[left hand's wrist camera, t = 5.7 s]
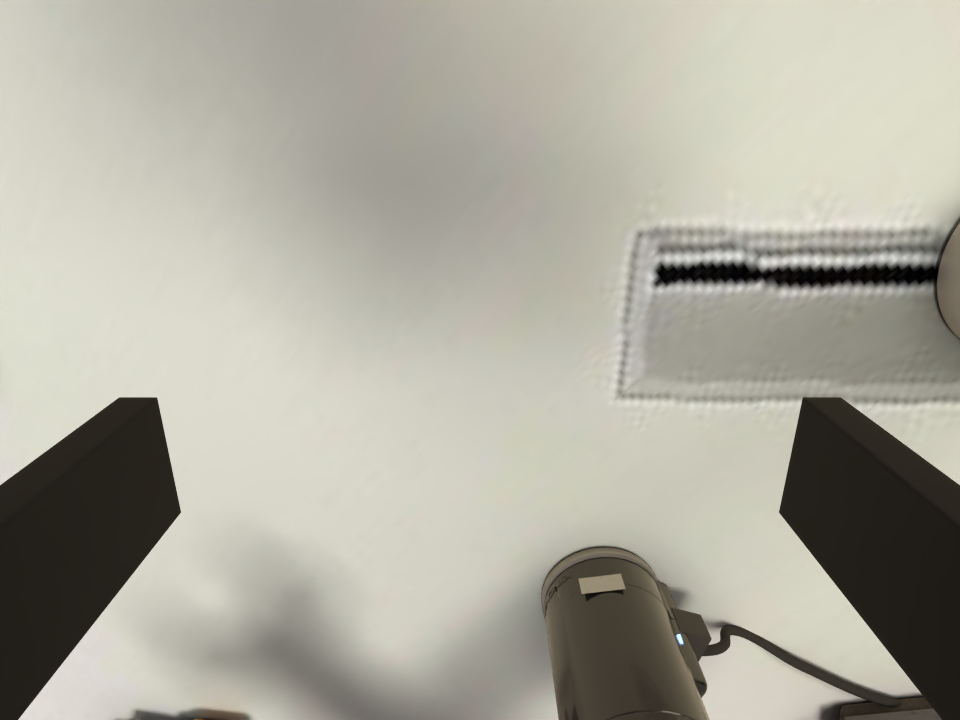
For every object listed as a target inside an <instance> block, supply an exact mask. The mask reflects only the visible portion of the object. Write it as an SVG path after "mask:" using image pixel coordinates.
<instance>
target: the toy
mask: <svg viewBox="0 0 960 720" xmlns="http://www.w3.org/2000/svg"><path fill="white" fill-rule="evenodd" d="M898 700H899V701H901V702H902V705H900V706H898V707H889V706H884V705H881V704H878V703H875V702H869V703H859V704H849V705H843V706H842V708H841V710H840V718H839V720H942V719H941V718H940V716H939V715H938V714H937V713H936V711H935V710H934V709H933V708H932V706H931V705H930V704H929V702H928V701H927V700H926V699H925V697H917V698H908V699H898Z"/></svg>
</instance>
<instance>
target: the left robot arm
mask: <svg viewBox="0 0 960 720" xmlns="http://www.w3.org/2000/svg"><path fill="white" fill-rule="evenodd" d="M180 513H181V510H180V506H179V501H178V496H177V491H176V486H175V482H174V477H173V472H172V467H171V462H170V458H169V453H168V448H167V443H166V438H165V434H164V429H163V424H162V419H161V414H160V409H159V405H158V400H157V398H118V399H117V400H115V401H114V402H113V403H111V404H110V405H109V406H107V407H106V408H105V409H103V410H102V411H100V412H99V413H98V414H96V415H95V416H94V417H92V418H91V419H90V420H88V421H87V422H86V423H84V424H83V425H81V426H80V427H79V428H77V429H76V430H75V431H73V432H72V433H71V434H69V435H68V436H67V437H65V438H64V439H62V440H61V441H60V442H58V443H57V444H56V445H54V446H53V447H52V448H50V449H49V450H48V451H46V452H45V453H44V454H42V455H41V456H39V457H38V458H37V459H35V460H34V461H33V462H31V463H30V464H29V465H27V466H26V467H25V468H23V469H22V470H20V471H19V472H18V473H16V474H15V475H14V476H12V477H11V478H10V479H8V480H7V481H6V482H4V483H3V484H1V485H0V720H18V719H19V718H20V716H21V715H22V714H23V713H24V711H25V710H26V709H27V708H28V706H29V705H30V704H31V702H32V701H33V700H34V699H35V697H36V696H37V695H38V694H39V692H40V691H41V690H42V688H43V687H44V686H45V685H46V683H47V682H48V681H49V680H50V678H51V677H52V676H53V674H54V673H55V672H56V671H57V669H58V668H59V667H60V666H61V664H62V663H63V662H64V660H65V659H66V658H67V657H68V655H69V654H70V653H71V652H72V650H73V649H74V648H75V646H76V645H77V644H78V643H79V641H80V640H81V639H82V638H83V636H84V635H85V634H86V632H87V631H88V630H89V629H90V627H91V626H92V625H93V624H94V622H95V621H96V620H97V618H98V617H99V616H100V615H101V613H102V612H103V611H104V610H105V608H106V607H107V606H108V604H109V603H110V602H111V601H112V599H113V598H114V597H115V596H116V594H117V593H118V592H119V590H120V589H121V588H122V587H123V585H124V584H125V583H126V582H127V580H128V579H129V578H130V576H131V575H132V574H133V573H134V571H135V570H136V569H137V568H138V566H139V565H140V564H141V562H142V561H143V560H144V559H145V557H146V556H147V555H148V554H149V552H150V551H151V550H152V548H153V547H154V546H155V545H156V543H157V542H158V541H159V540H160V538H161V537H162V536H163V534H164V533H165V532H166V531H167V529H168V528H169V527H170V526H171V524H172V523H173V522H174V520H175V519H176V518H177V517H178V515H179V514H180ZM779 513H780V514H781V515H782V517H783V518H784V519H785V520H786V522H787V523H788V524H789V526H790V527H791V528H792V529H793V531H794V532H795V533H796V534H797V536H798V537H799V538H800V540H801V541H802V542H803V543H804V545H805V546H806V547H807V548H808V550H809V551H810V552H811V554H812V555H813V556H814V557H815V559H816V560H817V561H818V562H819V564H820V565H821V566H822V568H823V569H824V570H825V571H826V573H827V574H828V575H829V576H830V578H831V579H832V580H833V582H834V583H835V584H836V585H837V587H838V588H839V589H840V590H841V592H842V593H843V594H844V596H845V597H846V598H847V599H848V601H849V602H850V603H851V604H852V606H853V607H854V608H855V610H856V611H857V612H858V613H859V615H860V616H861V617H862V618H863V620H864V621H865V622H866V624H867V625H868V626H869V627H870V629H871V630H872V631H873V632H874V634H875V635H876V636H877V638H878V639H879V640H880V641H881V643H882V644H883V645H884V646H885V648H886V649H887V650H888V652H889V653H890V654H891V655H892V657H893V658H894V659H895V660H896V662H897V663H898V664H899V666H900V667H901V668H902V669H903V671H904V672H905V673H906V674H907V676H908V677H909V678H910V680H911V681H912V682H913V683H914V685H915V686H916V687H917V688H918V690H919V691H920V692H921V694H922V695H923V696H924V697H925V699H926V700H927V701H928V702H929V704H930V705H931V706H932V708H933V709H934V710H935V711H936V713H937V714H938V715H939V716H940V718H941V719H942V720H960V485H959V484H957V483H956V482H954V481H953V480H952V479H950V478H949V477H948V476H946V475H945V474H944V473H942V472H941V471H940V470H938V469H937V468H935V467H934V466H933V465H931V464H930V463H929V462H927V461H926V460H925V459H923V458H922V457H921V456H919V455H918V454H916V453H915V452H914V451H912V450H911V449H910V448H908V447H907V446H906V445H904V444H903V443H902V442H900V441H899V440H898V439H896V438H895V437H893V436H892V435H891V434H889V433H888V432H887V431H885V430H884V429H883V428H881V427H880V426H879V425H877V424H876V423H874V422H873V421H872V420H870V419H869V418H868V417H866V416H865V415H864V414H862V413H861V412H860V411H858V410H857V409H855V408H854V407H853V406H851V405H850V404H849V403H847V402H846V401H845V400H843V399H842V398H803V400H802V405H801V409H800V414H799V419H798V424H797V429H796V433H795V438H794V443H793V448H792V453H791V458H790V462H789V467H788V472H787V477H786V482H785V486H784V491H783V496H782V501H781V506H780V510H779Z"/></svg>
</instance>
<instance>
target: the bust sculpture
mask: <svg viewBox="0 0 960 720" xmlns="http://www.w3.org/2000/svg"><path fill="white" fill-rule="evenodd" d="M937 296H938V302H939V306H940V310H941V313H942V315H943V317H944V319H945V321H946V323H947V325H948V326H949V328H950V329H951V330H952V331H953V332H954V334H955V335H956V336H958V337H959V338H960V223H959V224H958V226H957V227H956V229H955V230H954V232H953V234H952V236H951V237H950V239H949V241H948V243H947V246H946V248H945V250H944V253H943V256H942V259H941V262H940V266H939V271H938V278H937Z"/></svg>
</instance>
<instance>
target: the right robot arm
mask: <svg viewBox="0 0 960 720" xmlns="http://www.w3.org/2000/svg"><path fill="white" fill-rule="evenodd" d="M542 607H543V613H544V617H545V620H546V626H547V634H548V643H549V650H550V658H551V665H552V673H553V680H554V688H555V695H556V703H557V710H558V718H559V720H710V719H709V717H708V714H707V712H706V709H705V707H704V704H703V701H702V699H701V698H702V696H703V695H704V694H705V693H706V690H707V683H706V680H705V677H704V675H703V673H702V670H701V668H700V665H699V663H698V662H699V660H700V658H701V656H712V655H718V654H721V653H723V652H725V651H726V650H727V649H728V648H729V646H730V635H735V636H740V637H743V638H745V639H748V640H750V641H752V642H753V643H755V644H757V645H759V646H760V647H762V648H764V649H765V650H767V651H768V652H770V653H771V654H773V655H775V656H776V657H778V658H779V659H781V660H783V661H784V662H786V663H787V664H789V665H791V666H793V667H795V668H797V669H799V670H801V671H803V672H805V673H807V674H809V675H811V676H814V677H816V678H818V679H820V680H822V681H824V682H826V683H828V684H831V685H833V686H835V687H837V688H839V689H841V690H844V691H846V692H848V693H851V694H853V695H856V696H858V697H861V698H863V699H866V700H869V701H872V702H875V703H878V704H881V705H884V706H889V707H898V706H900V705H902V702H901V701H899V700H896V699H893V698H889V697H886V696H883V695H880V694H877V693H874V692H871V691H868V690H865V689H863V688H860V687H857V686H855V685H852V684H850V683H848V682H845V681H843V680H841V679H839V678H837V677H835V676H833V675H830V674H828V673H826V672H824V671H822V670H820V669H818V668H816V667H814V666H811V665H809V664H807V663H805V662H803V661H801V660H799V659H797V658H795V657H793V656H792V655H790V654H788V653H787V652H785V651H783V650H782V649H780V648H779V647H777V646H775V645H774V644H772V643H771V642H769V641H767V640H765V639H764V638H762V637H760V636H758V635H756V634H754V633H752V632H750V631H748V630H746V629H743V628H741V627H738V626H724V627H723V628H722V629H721V631H720V638H721V639H720V642H718V643H716V644H713V645H708V644H709V643H710V641H711V637H710V634H709V632H708V630H707V628H706V626H705V623H704V621H703V619H702V617H701V615H699V614H695V613H691V612H687V611H683V610H679V609H676V607H675V605H674V602H673V600H672V597H671V595H670V592H669V590H668V587H667V586H666V585H664V584H661V583H659V582H658V581H657V579H656V577H655V574H654V573H653V571H652V569H651V568H650V567H649V566H648V564H647V563H645V562H644V561H643V560H642V559H641V558H639V557H638V556H636V555H634V554H632V553H630V552H627V551H624V550H620V549H615V548H593V549H588V550H584V551H581V552H578V553H575V554H573V555H571V556H569V557H567V558H566V559H564V560H563V561H561V562H560V563H559V564H558V565H557V566H556V567H555V568H554V569H553V570H552V571H551V572H550V574H549V575H548V577H547V579H546V580H545V583H544V586H543V589H542Z"/></svg>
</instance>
